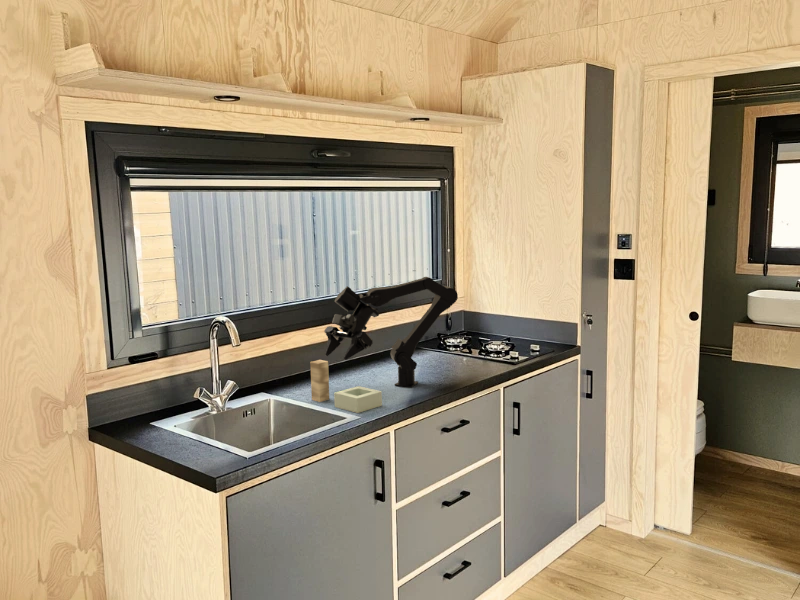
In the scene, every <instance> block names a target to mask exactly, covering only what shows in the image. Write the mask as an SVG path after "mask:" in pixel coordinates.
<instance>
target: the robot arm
mask: <svg viewBox="0 0 800 600" xmlns="http://www.w3.org/2000/svg"><path fill="white" fill-rule="evenodd" d="M425 290H427V291H429V292H431V293H432V294H434V297H433V300H432V302H431V305H430V307H428V309H427V310H426V311H425V313H424V314H423V315H422V317H421V318H420V319H419V320H418V322H417V323H416V324H415V326H414V327H413V328H412V329H411V331H410V332H409V333H408V335H407V336H406V337H404V338H403V339H401V338H400V337H397V339H396V342H395V343H394V344H393V345H391V349H390V353H389V354H390V357H391V359H392V360H393V361H394V362H395V363H396V365H397V366H398V367H397V378H398V379H397V382H396V383H394V387H404V388H405V387H406V388H412V387H415V386H416V385H417V384H418V383H419V381H418V380H417V381H416V379H415V378H416V377H415V373H416V372H415V370H416V369H417V366H418V363H417V362H416V361H415V360H414V359H413V358H412V357H413V355H414V354H415V353H414V352H415V350H416V347H417V345H418V344H419V342H420V341H421V340H422V338H423V337H424V336H425V335H426V333H427V332H428V331H429V330H430V328H431V327H432V326H433V325H434V323H435V322H436V321H437V319H438V318H439V317H440V316H441V314H442V313H443V312H445V311H447V310H448V309H450V308H451V307H452V306H453V305H454V304H455V303H456V302H457V300H458V298H459V297H458V295H459V294H458V292H457V290H456V289H455V288H452V287H451V286H448V285H442V284H441V283H438V282H437V281H436V280H434V279H433V278H432V277H429V276H423V277H422V278H419V279H414V280H411V281H407V282H404V283H400V284H396V285H392V286H380V287H379V286H378V287H371V288H369V289H368V290H367V292H364V293H360V294H357V293H356V292H355V291H353V290H352V288H350V287H349V286H346V287H345V288H343V290H342V291H341V292H339V293H338V294H337V296H336V297H335V299H334V302H335V303H336V305H338V306H340V308H342V309H344V311H347V312H352V314H350V313H347V315H343V314H338V313H335V314H334V315H333V318H332V322H331V323H332V324H333V325H337V326H338V327H339V328H338V327H337V326H332V325H331V326H330V325H328V326H326V327H325V329H324V330H323V332H324V334H325V335H326V337H327V344H326V349H325V353H324V355H325V357H329V356H330V355H331V354H332V353H333V352H334V351H335V350H336V349H337V348H338V347H339V346H340V345H341V342H343V340H344V339H345V340H351V342H350V345H349V347H348V349H347V351H346V352H345V354H344V357H343V359H344V360H345V361H347V360H348V359H351V358H352V357H353V356H355V355H356V354H358V353H360V352H362V351H364V350H367V349H371V347H372V345H373V343H374V342H373V339H372V337H371V336H370V335H369V334H368V332H367V330H368V328H367V326H366V325H367V324H368V323H369V321H370V319H371V317H373V318H377V317H379V316H380V314H379V311H378V310H379V309H378V308H373V307H381V306H383V305H386V304H388V303H390V302H391V301H392V300H394V299H396V298H401V297H403V296H407V295H411V294H414V293H418V292H422V291H425ZM371 305H372V306H371ZM340 330H341V331H340Z"/></svg>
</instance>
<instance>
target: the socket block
mask: <svg viewBox="0 0 800 600" xmlns="http://www.w3.org/2000/svg"><path fill="white" fill-rule="evenodd" d="M382 392H383V391H381V390H377V389H374V388H373V389H372V388H367V387H364V386H359V385H357V386H353V387H350V388H346V389H343V390H340V391H335V392H334V394H333V397H334V408H337V409H341V410H345V411H348V412H353V413H356V414H359V413H362V412H366V411H369V410H372V409H374V408H379V407H381V406H383V395H382Z"/></svg>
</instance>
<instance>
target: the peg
mask: <svg viewBox="0 0 800 600" xmlns="http://www.w3.org/2000/svg"><path fill="white" fill-rule="evenodd" d="M309 364H310V384H311V386H310V388H311V391H310V392H311V400H312V401H315V402H318V403H321V402H325V401H328V400H330V384H329V382H330V379H329V378H330V377H329V374H330V373H329V361H328V360H322V359H317V360H314V361H310V363H309Z"/></svg>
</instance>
